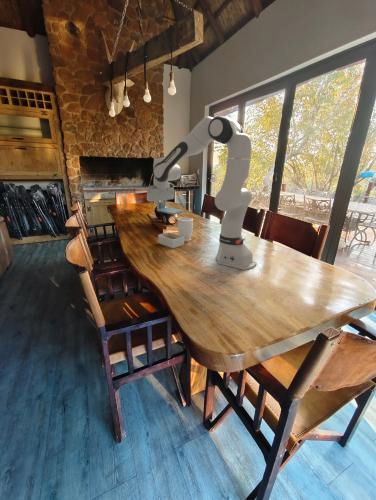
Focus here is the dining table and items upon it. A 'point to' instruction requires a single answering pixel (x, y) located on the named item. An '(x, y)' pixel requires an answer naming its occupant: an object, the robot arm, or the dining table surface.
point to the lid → (168, 209)
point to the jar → (185, 227)
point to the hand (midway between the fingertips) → (161, 207)
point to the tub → (171, 240)
